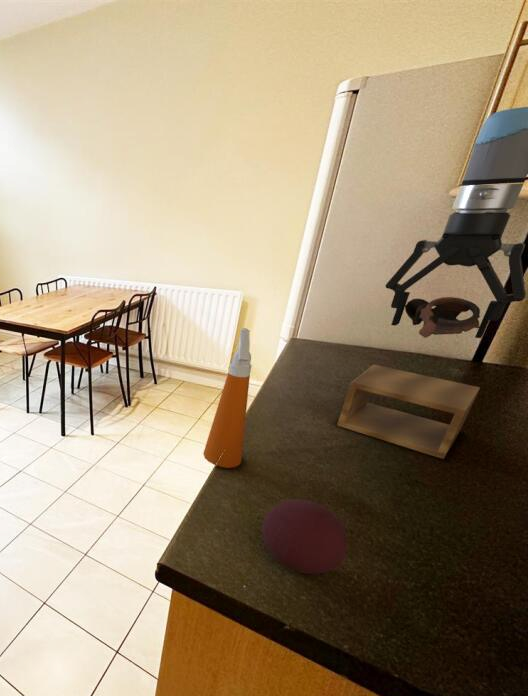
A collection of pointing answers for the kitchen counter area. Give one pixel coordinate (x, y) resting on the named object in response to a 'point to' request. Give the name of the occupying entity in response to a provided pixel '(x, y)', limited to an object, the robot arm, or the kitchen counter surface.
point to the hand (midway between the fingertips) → (434, 330)
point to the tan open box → (403, 425)
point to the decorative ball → (305, 536)
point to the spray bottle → (231, 410)
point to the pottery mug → (442, 315)
